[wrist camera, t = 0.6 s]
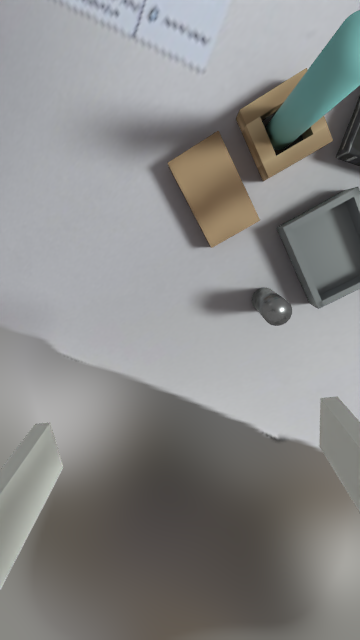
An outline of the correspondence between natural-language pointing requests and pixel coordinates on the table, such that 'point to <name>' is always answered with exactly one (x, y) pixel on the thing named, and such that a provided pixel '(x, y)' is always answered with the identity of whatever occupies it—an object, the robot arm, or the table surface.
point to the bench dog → (272, 306)
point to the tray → (326, 247)
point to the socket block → (259, 139)
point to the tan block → (213, 190)
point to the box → (351, 140)
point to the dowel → (320, 86)
